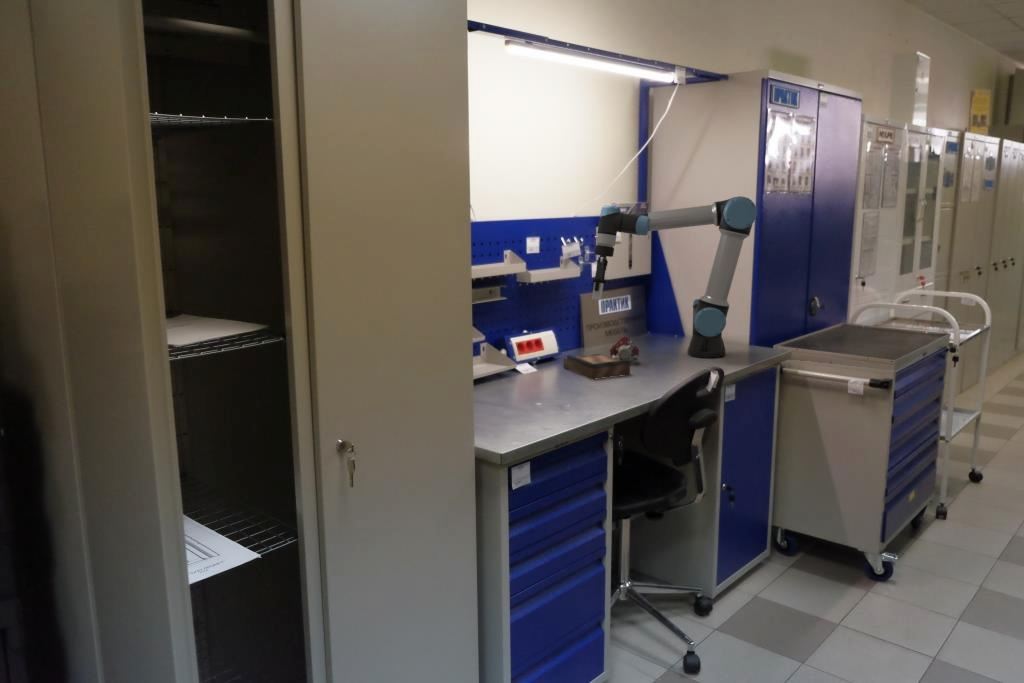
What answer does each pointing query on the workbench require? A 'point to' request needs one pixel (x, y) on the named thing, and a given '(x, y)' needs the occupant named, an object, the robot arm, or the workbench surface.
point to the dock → (597, 366)
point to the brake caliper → (624, 350)
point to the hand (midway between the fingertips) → (596, 299)
